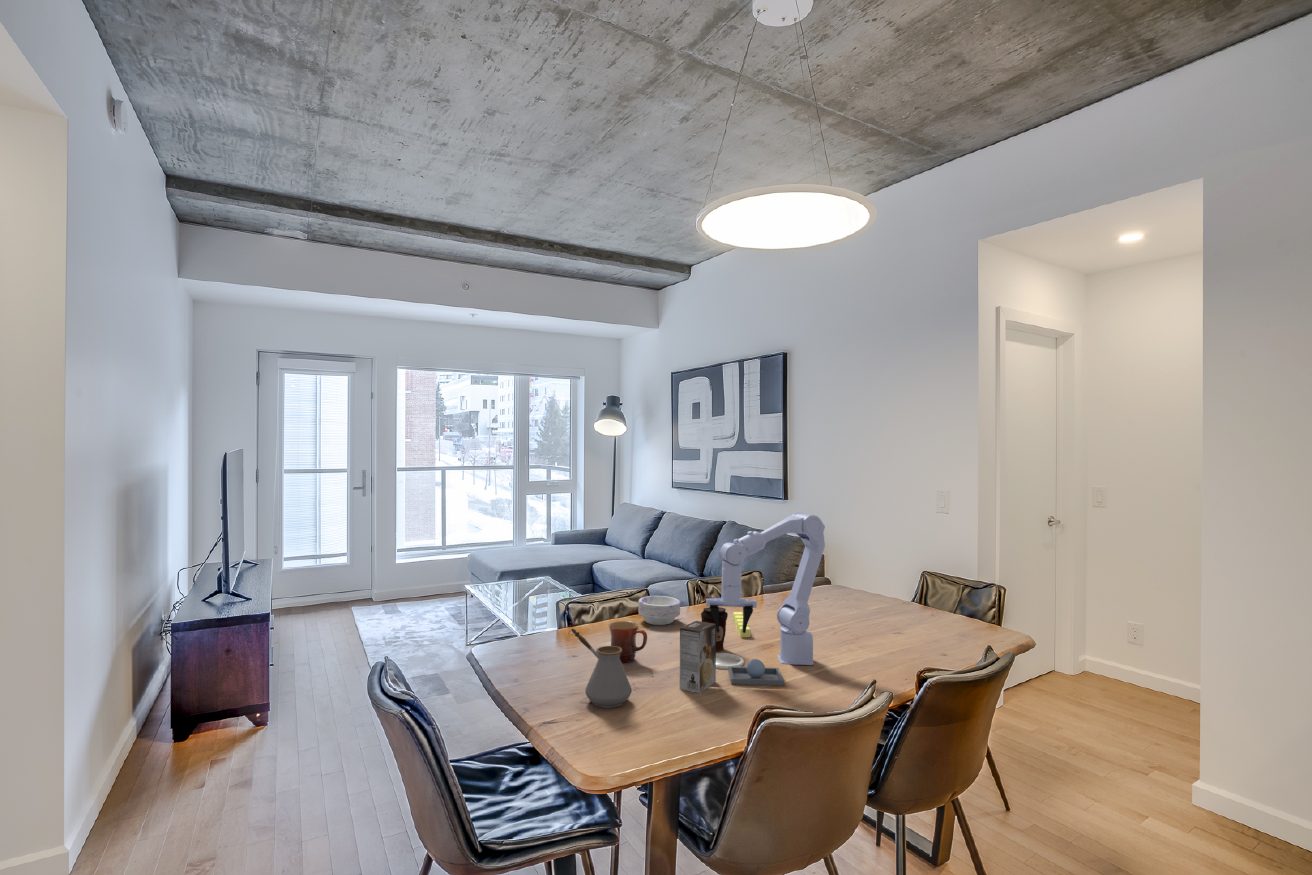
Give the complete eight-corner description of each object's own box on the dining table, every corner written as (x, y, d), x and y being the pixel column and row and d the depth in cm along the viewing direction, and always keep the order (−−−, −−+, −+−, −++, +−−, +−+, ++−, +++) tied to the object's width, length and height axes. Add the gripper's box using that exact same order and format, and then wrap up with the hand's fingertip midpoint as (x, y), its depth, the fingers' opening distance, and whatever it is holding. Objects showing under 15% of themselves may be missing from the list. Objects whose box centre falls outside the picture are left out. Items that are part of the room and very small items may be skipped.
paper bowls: (681, 627, 228) (681, 605, 229) (637, 627, 228) (638, 604, 228) (678, 616, 244) (679, 595, 244) (638, 616, 243) (638, 594, 243)
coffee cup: (725, 655, 198) (726, 613, 198) (698, 653, 200) (699, 611, 200) (728, 647, 207) (728, 606, 207) (702, 645, 208) (703, 604, 209)
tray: (778, 674, 183) (778, 667, 183) (784, 687, 173) (784, 680, 173) (728, 672, 183) (728, 666, 183) (731, 685, 173) (731, 678, 173)
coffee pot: (641, 702, 161) (642, 641, 161) (605, 715, 153) (606, 651, 153) (587, 679, 176) (588, 623, 176) (552, 690, 168) (553, 631, 168)
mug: (602, 661, 191) (603, 626, 191) (616, 653, 199) (617, 619, 199) (639, 668, 186) (640, 632, 186) (652, 659, 194) (653, 624, 194)
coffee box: (695, 678, 178) (696, 619, 178) (716, 683, 175) (717, 623, 175) (678, 688, 170) (679, 627, 171) (700, 694, 167) (701, 631, 167)
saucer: (741, 657, 197) (741, 653, 197) (745, 670, 185) (745, 666, 185) (701, 656, 197) (701, 652, 197) (703, 669, 185) (703, 665, 185)
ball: (757, 674, 181) (758, 656, 182) (767, 680, 177) (769, 661, 177) (742, 675, 179) (743, 657, 179) (752, 681, 175) (753, 662, 175)
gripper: (754, 582, 193) (754, 628, 193) (705, 581, 194) (705, 627, 194) (757, 587, 186) (757, 635, 186) (707, 586, 187) (706, 633, 187)
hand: (730, 631), depth 189 cm, fingers open, 7 cm apart
